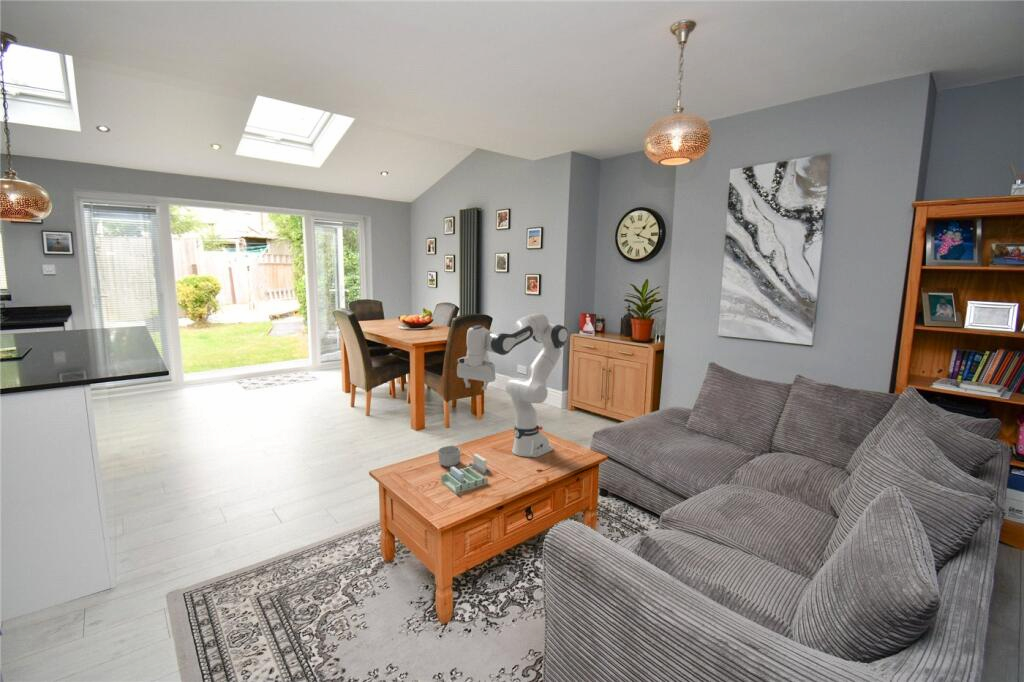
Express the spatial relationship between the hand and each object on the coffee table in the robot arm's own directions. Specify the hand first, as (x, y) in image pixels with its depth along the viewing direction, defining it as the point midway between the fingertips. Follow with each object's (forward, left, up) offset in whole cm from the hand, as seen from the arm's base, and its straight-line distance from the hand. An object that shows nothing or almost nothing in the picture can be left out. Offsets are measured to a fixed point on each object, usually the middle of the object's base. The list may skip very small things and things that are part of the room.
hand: (476, 388), depth 216 cm
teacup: (+9, -10, -39) cm, 42 cm away
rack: (+14, +13, -39) cm, 43 cm away
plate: (+1, +5, -38) cm, 39 cm away
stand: (+1, +5, -39) cm, 39 cm away
